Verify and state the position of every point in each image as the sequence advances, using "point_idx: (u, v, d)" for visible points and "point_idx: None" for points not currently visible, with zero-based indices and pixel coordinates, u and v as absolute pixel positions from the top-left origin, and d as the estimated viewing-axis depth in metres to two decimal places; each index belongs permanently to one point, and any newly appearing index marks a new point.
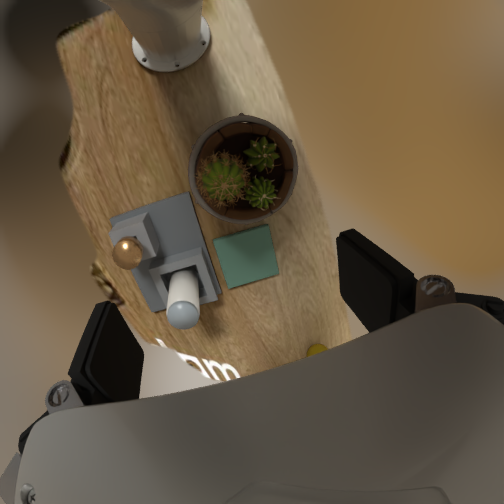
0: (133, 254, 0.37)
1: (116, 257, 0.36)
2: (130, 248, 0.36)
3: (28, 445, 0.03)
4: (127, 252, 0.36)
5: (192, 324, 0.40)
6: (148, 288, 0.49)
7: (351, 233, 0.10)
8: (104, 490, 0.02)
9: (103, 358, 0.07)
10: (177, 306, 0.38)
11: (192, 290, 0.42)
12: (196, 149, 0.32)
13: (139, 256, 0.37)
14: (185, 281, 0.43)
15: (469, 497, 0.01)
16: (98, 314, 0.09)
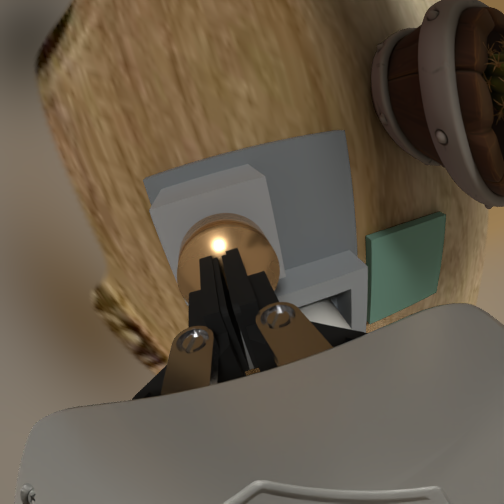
0: None
1: (189, 283, 0.12)
2: (247, 253, 0.11)
3: (28, 445, 0.03)
4: None
5: None
6: None
7: (232, 253, 0.11)
8: (104, 490, 0.02)
9: (227, 303, 0.09)
10: None
11: None
12: (452, 19, 0.07)
13: (273, 278, 0.12)
14: None
15: (469, 497, 0.01)
16: (209, 265, 0.10)
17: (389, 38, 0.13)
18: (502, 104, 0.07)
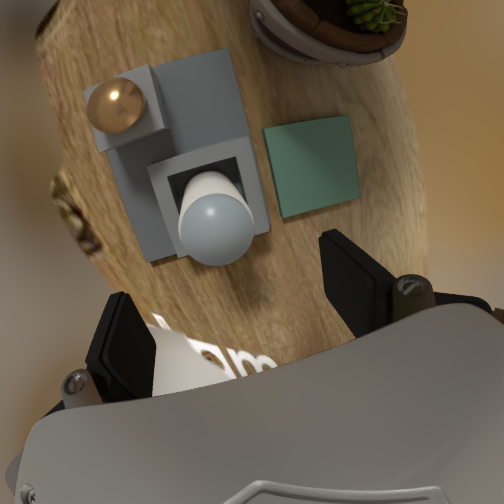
0: (125, 102, 0.16)
1: (92, 111, 0.16)
2: (123, 89, 0.16)
3: (28, 445, 0.03)
4: (116, 98, 0.16)
5: (237, 253, 0.18)
6: (143, 215, 0.28)
7: (333, 233, 0.10)
8: (104, 490, 0.02)
9: (119, 346, 0.08)
10: (207, 202, 0.16)
11: (234, 188, 0.20)
12: None
13: (137, 104, 0.17)
14: (218, 178, 0.22)
15: (469, 497, 0.01)
16: (113, 304, 0.09)
17: None
18: None
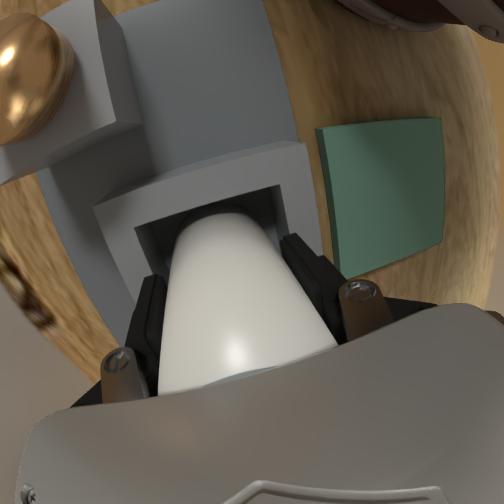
0: (14, 66, 0.04)
1: None
2: (14, 39, 0.03)
3: (28, 445, 0.03)
4: None
5: None
6: (105, 283, 0.15)
7: (292, 237, 0.11)
8: (104, 490, 0.02)
9: (160, 324, 0.09)
10: None
11: (298, 288, 0.08)
12: None
13: (37, 65, 0.04)
14: (249, 246, 0.09)
15: (469, 497, 0.01)
16: (149, 285, 0.10)
17: None
18: None
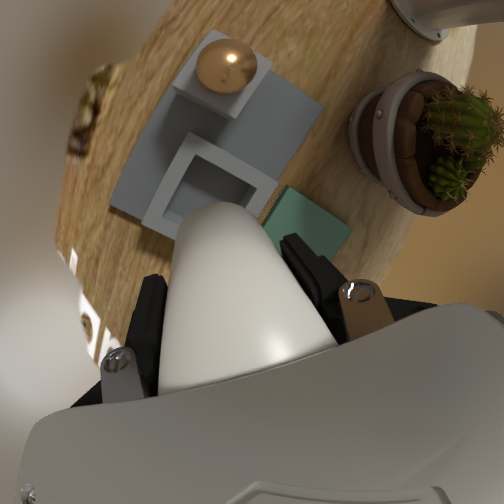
0: (237, 72, 0.17)
1: (208, 51, 0.16)
2: (245, 62, 0.16)
3: (28, 445, 0.03)
4: (234, 62, 0.16)
5: None
6: (143, 164, 0.25)
7: (292, 237, 0.11)
8: (104, 490, 0.02)
9: (160, 324, 0.09)
10: None
11: (300, 290, 0.08)
12: (428, 76, 0.17)
13: (243, 83, 0.17)
14: (251, 248, 0.09)
15: (469, 497, 0.01)
16: (150, 285, 0.10)
17: None
18: (428, 113, 0.17)
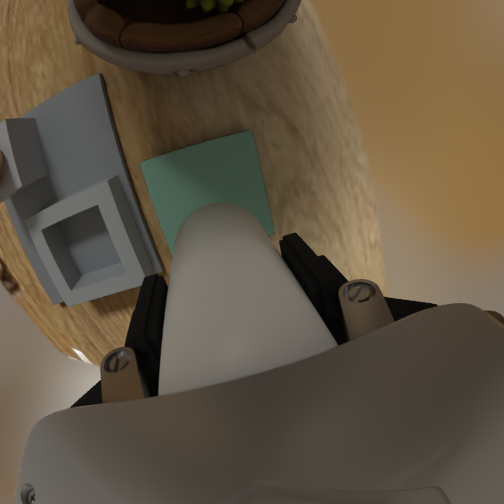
0: None
1: None
2: None
3: (28, 445, 0.03)
4: None
5: None
6: (41, 261, 0.23)
7: (292, 237, 0.11)
8: (104, 490, 0.02)
9: (160, 324, 0.09)
10: None
11: (300, 291, 0.08)
12: None
13: None
14: (251, 248, 0.09)
15: (469, 497, 0.01)
16: (150, 285, 0.10)
17: None
18: None
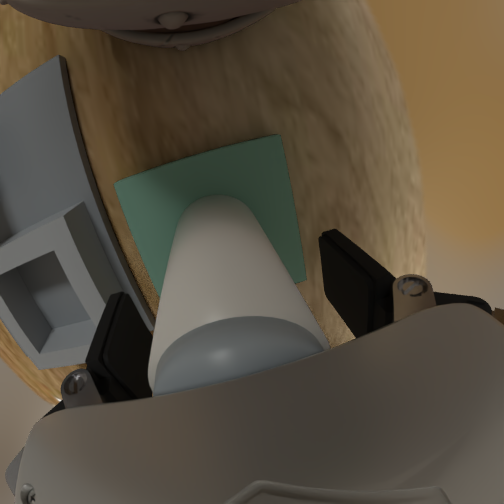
0: None
1: None
2: None
3: (28, 445, 0.03)
4: None
5: None
6: None
7: (333, 233, 0.10)
8: (104, 490, 0.02)
9: (119, 346, 0.08)
10: (223, 360, 0.05)
11: (279, 265, 0.09)
12: None
13: None
14: (239, 230, 0.10)
15: (469, 497, 0.01)
16: (113, 304, 0.09)
17: None
18: None
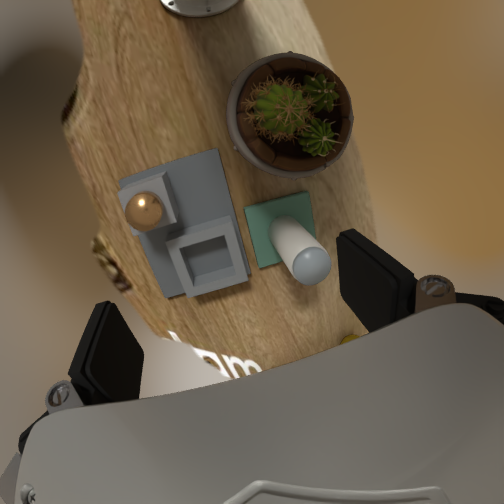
0: (151, 212, 0.30)
1: (129, 216, 0.30)
2: (148, 203, 0.29)
3: (28, 445, 0.03)
4: (144, 208, 0.30)
5: (321, 278, 0.33)
6: (162, 268, 0.41)
7: (351, 233, 0.10)
8: (104, 490, 0.02)
9: (103, 358, 0.07)
10: (311, 252, 0.31)
11: (315, 239, 0.35)
12: (239, 83, 0.24)
13: (159, 213, 0.30)
14: (302, 229, 0.36)
15: (469, 497, 0.01)
16: (98, 314, 0.09)
17: None
18: (257, 124, 0.25)
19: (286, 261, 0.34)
